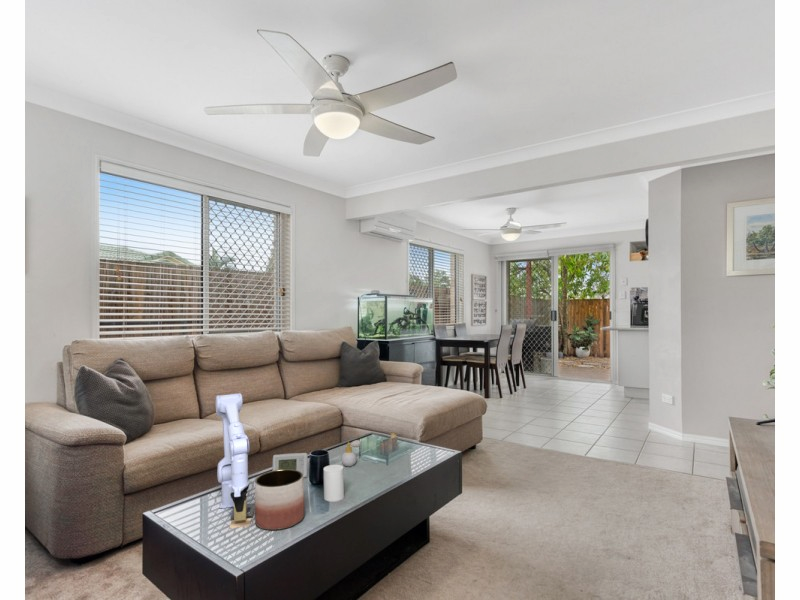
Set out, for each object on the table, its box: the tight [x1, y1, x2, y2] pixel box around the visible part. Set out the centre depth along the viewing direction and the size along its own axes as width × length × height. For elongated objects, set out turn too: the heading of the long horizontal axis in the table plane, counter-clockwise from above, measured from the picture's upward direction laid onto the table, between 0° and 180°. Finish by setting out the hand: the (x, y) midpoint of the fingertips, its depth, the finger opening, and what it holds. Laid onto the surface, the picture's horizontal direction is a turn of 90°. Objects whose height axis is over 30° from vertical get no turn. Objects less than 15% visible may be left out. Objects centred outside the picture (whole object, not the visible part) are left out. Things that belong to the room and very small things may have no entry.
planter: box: [254, 469, 306, 531], centre depth 164 cm, size 18×18×16 cm
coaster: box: [229, 518, 252, 529], centre depth 161 cm, size 5×7×1 cm
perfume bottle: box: [341, 439, 362, 467], centre depth 220 cm, size 8×10×12 cm
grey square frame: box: [230, 502, 255, 522], centre depth 169 cm, size 9×8×2 cm
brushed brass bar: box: [233, 495, 248, 521], centre depth 162 cm, size 4×4×7 cm
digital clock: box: [271, 452, 308, 479], centre depth 206 cm, size 16×9×11 cm, turn 85°
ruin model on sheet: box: [379, 432, 399, 457], centre depth 238 cm, size 11×3×10 cm, turn 141°
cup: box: [323, 464, 345, 502], centre depth 182 cm, size 8×8×12 cm
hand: (240, 508), depth 162 cm, fingers closed on brushed brass bar, 4 cm apart
